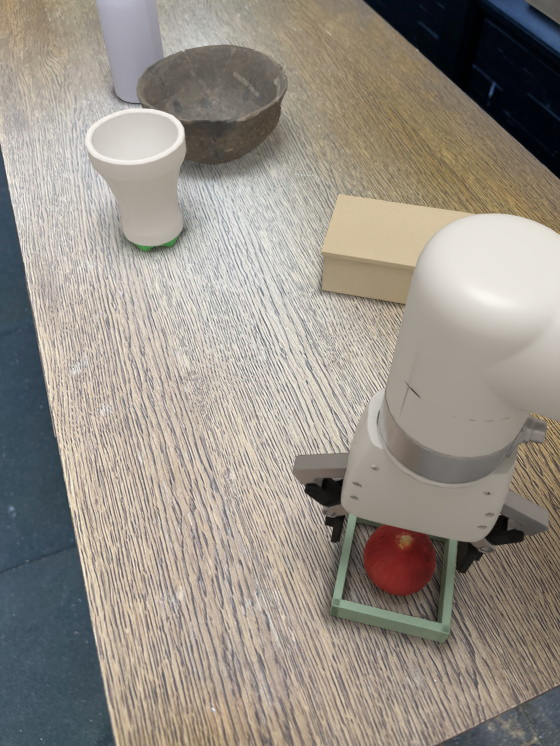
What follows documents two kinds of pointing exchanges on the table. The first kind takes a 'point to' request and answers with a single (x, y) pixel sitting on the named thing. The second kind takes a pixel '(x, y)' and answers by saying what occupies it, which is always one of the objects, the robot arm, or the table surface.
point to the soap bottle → (130, 41)
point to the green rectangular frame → (392, 619)
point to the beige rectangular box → (377, 246)
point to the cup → (141, 171)
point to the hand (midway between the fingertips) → (398, 540)
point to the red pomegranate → (399, 560)
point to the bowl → (217, 98)
